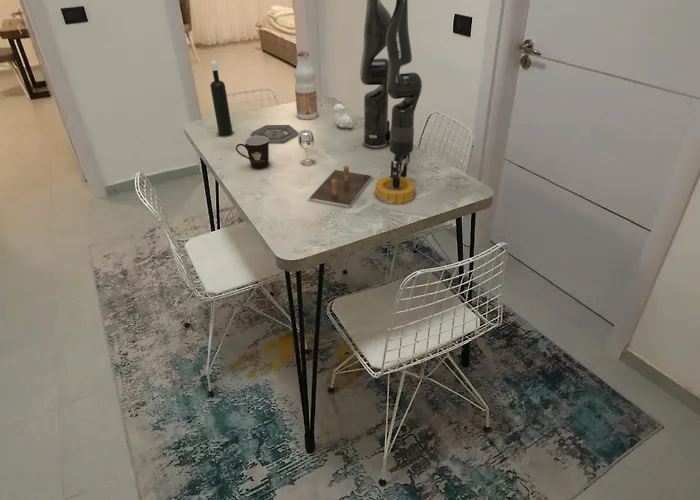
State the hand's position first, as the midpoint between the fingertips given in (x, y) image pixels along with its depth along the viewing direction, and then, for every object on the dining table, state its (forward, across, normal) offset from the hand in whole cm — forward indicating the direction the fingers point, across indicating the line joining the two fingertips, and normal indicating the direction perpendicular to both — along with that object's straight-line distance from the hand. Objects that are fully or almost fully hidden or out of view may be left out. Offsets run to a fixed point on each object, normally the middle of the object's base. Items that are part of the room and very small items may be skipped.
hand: (399, 181), depth 168 cm
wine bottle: (+2, +21, +84) cm, 87 cm away
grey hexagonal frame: (+2, +27, +63) cm, 69 cm away
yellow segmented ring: (+2, -5, 0) cm, 6 cm away
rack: (+2, -8, +18) cm, 20 cm away
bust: (+2, +46, +39) cm, 60 cm away
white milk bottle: (+2, +52, +60) cm, 79 cm away
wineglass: (+2, +7, +38) cm, 39 cm away
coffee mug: (+2, -1, +56) cm, 56 cm away
